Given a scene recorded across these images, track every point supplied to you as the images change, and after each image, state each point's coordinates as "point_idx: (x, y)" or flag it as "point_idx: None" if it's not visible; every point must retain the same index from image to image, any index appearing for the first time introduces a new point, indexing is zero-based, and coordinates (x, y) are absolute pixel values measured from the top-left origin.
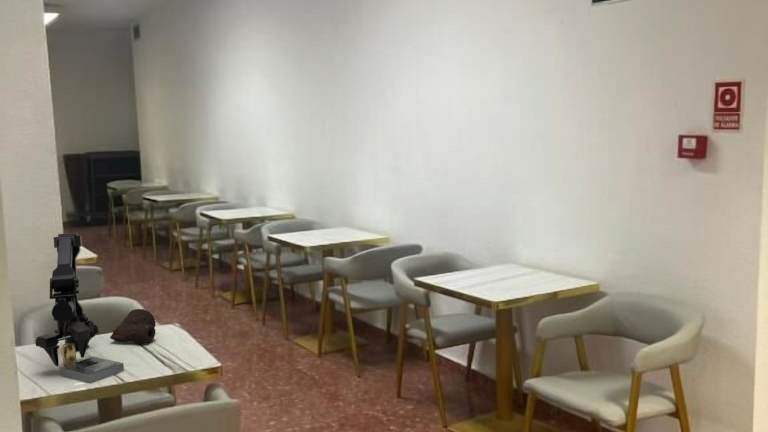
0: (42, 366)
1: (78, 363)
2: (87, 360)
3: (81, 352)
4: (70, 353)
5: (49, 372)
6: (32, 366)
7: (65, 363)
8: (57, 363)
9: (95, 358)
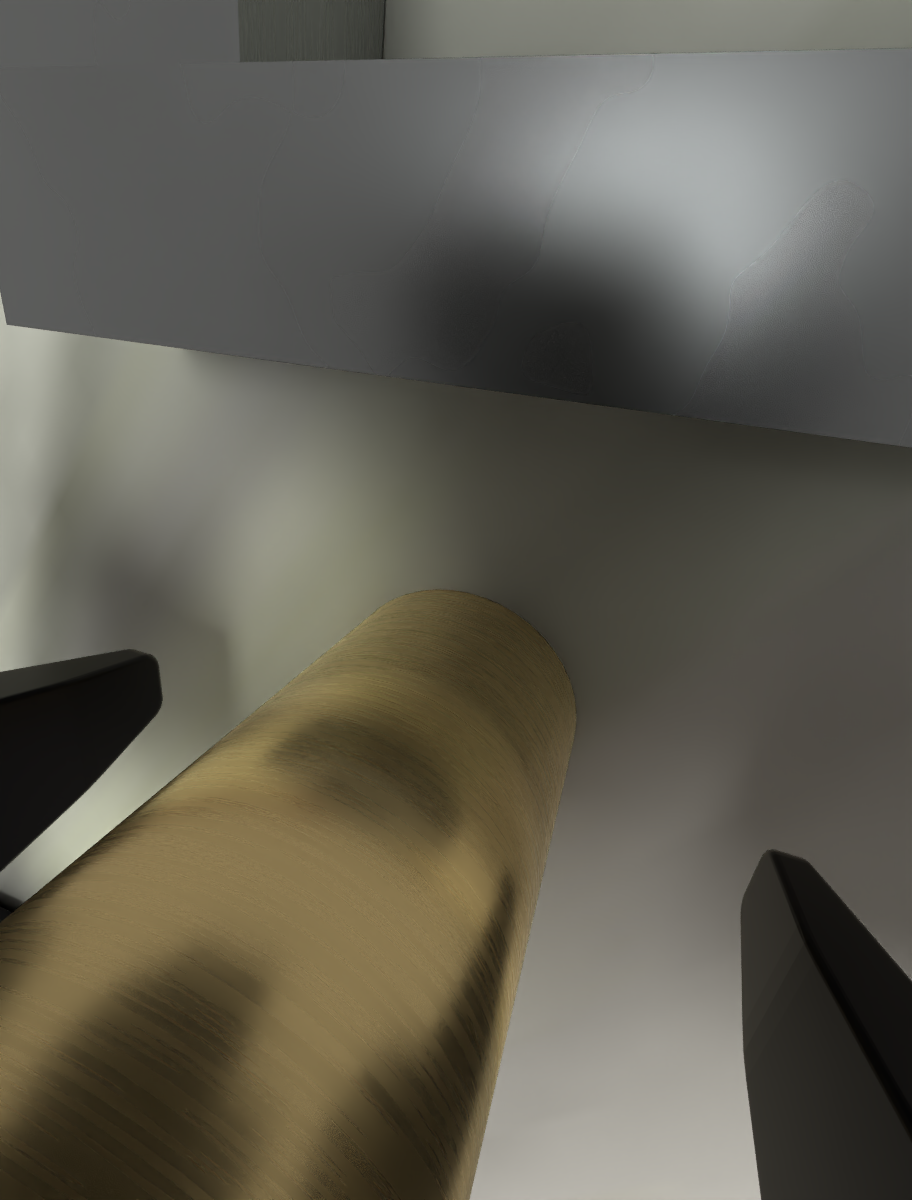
0: (593, 1084)
1: (671, 159)
2: (267, 155)
3: (58, 745)
4: (377, 862)
5: (883, 881)
6: (633, 1187)
7: (560, 776)
8: (825, 909)
9: (31, 67)
